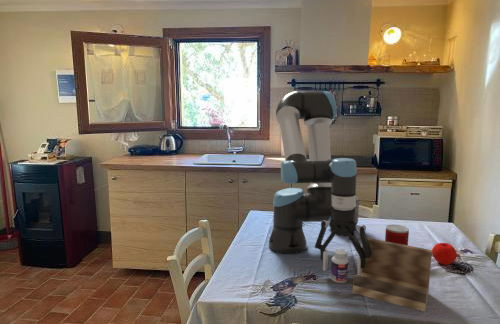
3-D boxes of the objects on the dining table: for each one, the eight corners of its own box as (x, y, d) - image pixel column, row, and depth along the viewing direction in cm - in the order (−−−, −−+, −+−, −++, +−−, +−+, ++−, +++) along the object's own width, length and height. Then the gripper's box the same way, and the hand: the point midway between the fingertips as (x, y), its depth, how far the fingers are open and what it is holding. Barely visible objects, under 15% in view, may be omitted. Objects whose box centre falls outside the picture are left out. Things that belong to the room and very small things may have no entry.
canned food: (408, 260, 130) (411, 232, 128) (386, 258, 131) (387, 230, 130) (404, 252, 137) (406, 225, 135) (382, 250, 139) (384, 223, 137)
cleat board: (352, 292, 108) (354, 249, 106) (361, 277, 118) (363, 237, 115) (424, 312, 98) (429, 264, 96) (428, 293, 108) (432, 250, 105)
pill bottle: (338, 285, 113) (339, 256, 111) (327, 277, 118) (328, 250, 116) (351, 281, 115) (352, 253, 114) (339, 274, 120) (340, 247, 118)
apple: (435, 256, 134) (437, 237, 132) (458, 262, 128) (460, 243, 127) (427, 262, 128) (429, 243, 127) (451, 270, 122) (453, 250, 121)
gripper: (304, 205, 115) (304, 270, 118) (378, 215, 103) (376, 286, 106) (312, 200, 121) (312, 261, 124) (383, 208, 109) (381, 275, 113)
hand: (342, 272), depth 115 cm, fingers open, 10 cm apart
